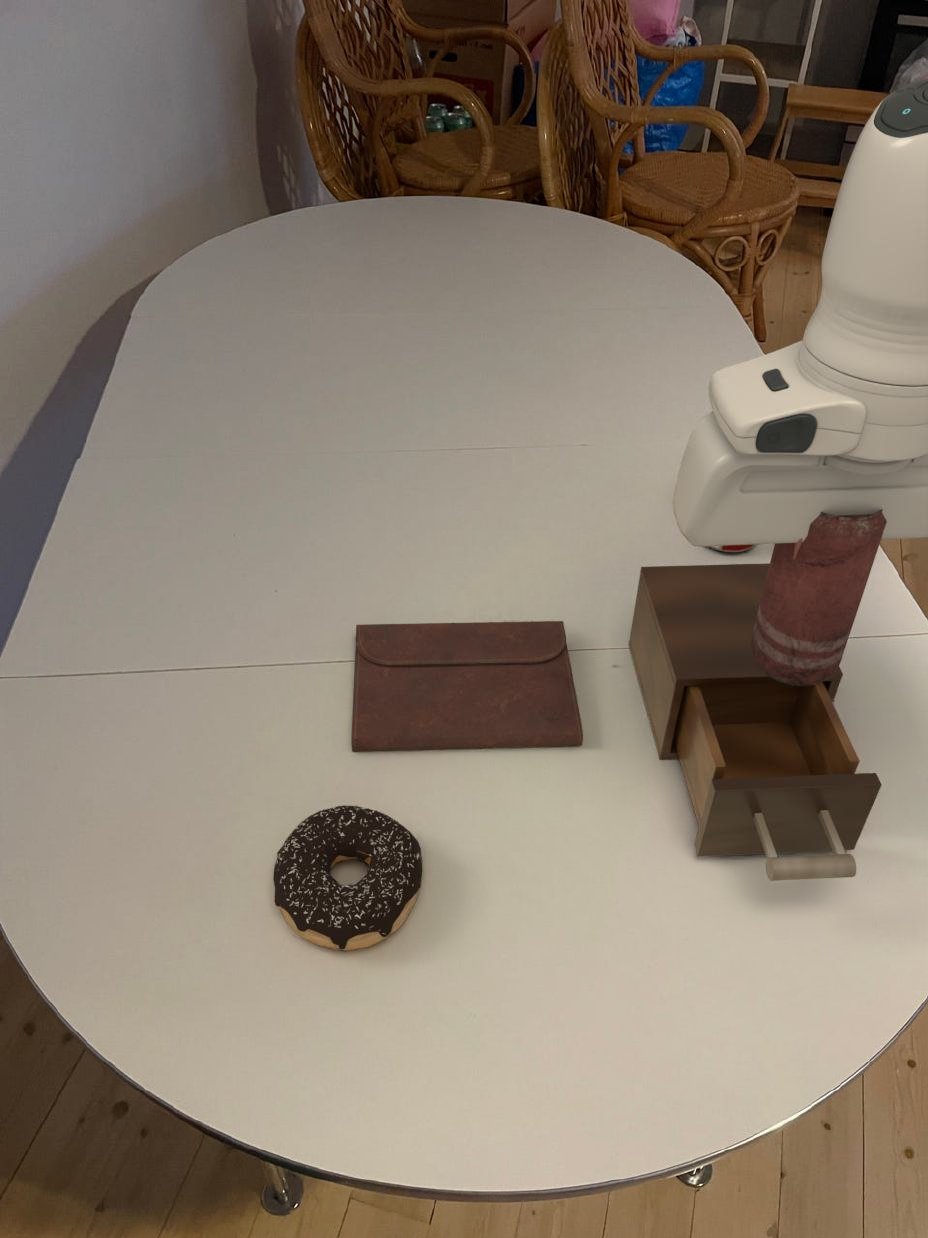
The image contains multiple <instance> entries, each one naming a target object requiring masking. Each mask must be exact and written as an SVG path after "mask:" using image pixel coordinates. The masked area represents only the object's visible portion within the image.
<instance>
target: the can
mask: <svg viewBox="0 0 928 1238" xmlns="http://www.w3.org/2000/svg"><path fill="white" fill-rule="evenodd" d="M882 510H883V509H881V510H880V511H879V512H878V513H876V514H862V515H836V516H835V515H831V514H827V513H824V512H821V513H820V515H819V516H818V517H817V518H816V519H815V520H814V521H813V522H812V523H811V524H810V527H809V531H808V535H807V537H806V538H805V540H804V541H803V542H802V538H801V539H799V540H798V542H797V543H778V544H773V550H772V553H771V558H770V561H769V563H770V565H769V569H768V573H767V577H766V581H765V585H764V589H763V593H762V597H761V601H760V605H759V609H758V613H757V617H756V622H755V626H754V630H753V634H752V638H751V642H750V650H751V654H752V656H753V658H754V660H755V662H756V663H757V665H758V667H759V668H760V669H761V670H762V671H763V672H764V673H765V674H766V675H768V676H770V677H771V678H773V679H775V680H777V681H779V682H782V683H785V684H789V685H795V686H810V685H816V684H818V683H821V682H823V681H825V680H827V679H829V678H831V677H832V676H833V675H834V674H835V673H836V672H837V671H838V669H839V666H840V667H841V662H842V660H843V656H844V653H845V651H846V647H847V643H848V641H849V639H850V635H851V633H852V629H853V626H854V623H855V620H856V617H857V614H858V611H859V608H860V605H861V602H862V599H863V595H864V593H865V590H866V586H867V583H868V582H869V581H868V580H869V578H870V575H871V572H872V568H873V565H874V563H875V559H876V556H877V554H878V550H879V547H880V544H881V541H882V540H881V538H882V535H883V532H884V529H885V526H886V523H887V521H886V519H885V517H884V515H883V513H882Z"/></svg>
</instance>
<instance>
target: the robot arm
mask: <svg viewBox="0 0 928 1238" xmlns="http://www.w3.org/2000/svg"><path fill="white" fill-rule="evenodd" d="M820 267H821V278H822V279H821V281H822V282H821V283H822V284H821V285H822V286H821V294H820V297H819V301H818V303H817V306H816V308H815V310H814V311H813V313H812V315H811V317H810V318H809V320H808V321H807V324H806V327H805V329H804V333H803V337H802V340H799V341H797V342H795V343H792V344H790V345H788V346H787V345H786V346H785V347H782V348H780V349H777V350H774V351H772V352H769V353H766V354H763V355H760V356H757V357H754V358H751V359H748V360H745V361H742V362H737V363H735V364H731V365H728V366H725V367H723V368H720V369H719V370H717V371H715V372H713V375H711V377H710V380H709V383H708V399H709V402H710V407H711V410H712V411H710V412H709V413H707V414H706V415H704V416H703V417H702V418H701V419H700V420H699V421H698V422H697V424H696V425H695V426H694V428H693V429H692V431H691V433H690V436H689V438H688V440H687V443H686V446H685V449H684V452H683V455H682V459H681V462H680V466H679V469H678V473H677V477H676V481H675V485H674V490H673V491H674V492H673V496H672V497H673V498H672V511H673V515H674V518H675V522H676V525H677V527H678V529H679V531H680V533H681V534H682V536H683V537H684V538H685V539H686V540H687V542H689V544H690V545H692V546H693V547H696V548H697V547H699V548H700V547H703V548H704V547H709V546H727V545H752V544H755V545H775V544H778V543H797V542H798V540H799V539H801V538H802V542H803V541H804V540H805V538H806V537H807V535H808V531H809V527H810V524H811V523H812V522H813V521H814V520H815V519H816V518H817V517H818V516H819V515H820V513H821V512H824V513H827V514H831V515H835V516H836V515H862V514H876V513H878V512H879V511H880V510H881V509H883V510H882V513H883V515H884V517H885V519H886V521H887V523H886V526H885V529H884V532H883V535H882V538H881V541H883V540H909V539H928V77H924V78H921V79H918V80H915V81H912V82H910V83H908V84H906V85H904V86H902V87H900V88H898V89H896V90H894V91H893V92H891V93H890V94H888V95H887V96H885V97H884V99H882V100H881V102H880V103H878V105H877V106H876V107H875V109H874V110H873V112H872V113H871V114H870V117H869V118H868V119H867V121H866V123H865V124H864V127H863V128H862V130H861V132H860V134H859V136H858V139H857V141H856V143H855V146H854V147H853V150H852V153H851V155H850V157H849V161H848V163H847V166H846V168H845V172H844V175H843V177H842V180H841V183H840V187H839V190H838V194H837V198H836V200H835V204H834V208H833V211H832V215H831V220H830V222H829V227H828V231H827V235H826V240H825V243H824V248H823V252H822V255H821V266H820Z"/></svg>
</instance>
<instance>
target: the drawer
mask: <svg viewBox="0 0 928 1238" xmlns="http://www.w3.org/2000/svg"><path fill="white" fill-rule="evenodd" d="M673 738H674V742H675V745H676V749H677V752H678V755H679V759H678V760H679V762H680V766H681V768H682V773H683V775H684V779H685V782H686V785H687V789H688V793H689V797H690V799H691V803H692V805H693V806H692V807H693V810H694V813H695V817H696V820H697V823H698V830H697V833H696V836H695V837H696V838H695V841H694V847H695V851H696V855H697V856H698V857H717V856H718V857H719V856H741V855H764V854H765V856H766V857H765V858H766V862H765V872H766V873H765V874H766V876H767V878H768V880H769V881H770V882H774V881H776V882H777V881H778V882H779V881H799V880H801V881H802V880H818V879H819V880H822V879H823V880H824V879H843V878H855V876H856V874H857V863H856V860H855V857H854V855H852V854H851V853H846V851H853V850H855V849H856V846H857V843H858V842H859V839H860V836H861V834H862V832H863V829H864V827H865V825H866V823H867V821H868V818H869V816H870V813H871V811H872V808H873V806H874V804H875V802H876V799H877V797H878V794H879V792H880V790H881V788H882V782H881V780H880V778H879V776H878V774H877V773H876V772H860V773H856V772H857V770H858V766H859V764H860V759H859V758H860V757H859V756H858V754H857V751H856V749H855V747H854V746H853V743H852V742H851V739H850V737H849V735H848V732H847V731H846V728H845V726H844V724H843V722H842V720H841V718H840V715H839V713H838V712H837V708H836V706H835V705H834V702H833V703H832V700H831V698H830V696H829V694H828V692H827V690H826V687H825V685H824V683H823V682H821V683H818V684H816V685H810V686H795V685H789V684H785V683H756V684H726V685H696V686H684V691H683V695H682V700H681V705H680V709H679V714H678V718H677V723H676V727H675V732H674V737H673ZM810 852H833V854H824V855H823V854H821V855H799V856H778V854H788V853H789V854H790V853H810Z"/></svg>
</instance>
